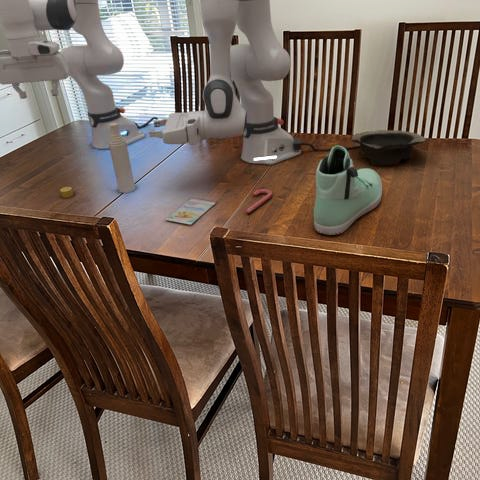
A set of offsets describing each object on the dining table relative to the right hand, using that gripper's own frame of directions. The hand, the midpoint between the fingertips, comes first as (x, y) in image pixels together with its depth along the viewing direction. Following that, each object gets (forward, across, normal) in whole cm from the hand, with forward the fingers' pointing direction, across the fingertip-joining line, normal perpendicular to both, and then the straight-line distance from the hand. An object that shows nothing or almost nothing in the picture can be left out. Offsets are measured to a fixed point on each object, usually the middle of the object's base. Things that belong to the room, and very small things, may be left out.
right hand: (151, 128), depth 151 cm
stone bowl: (-78, -13, +20) cm, 82 cm away
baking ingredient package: (-12, +20, +20) cm, 30 cm away
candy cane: (-32, +17, +20) cm, 41 cm away
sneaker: (-58, +24, +20) cm, 66 cm away
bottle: (+12, 0, +20) cm, 23 cm away
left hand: (+31, +2, -13) cm, 34 cm away
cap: (+31, +2, +18) cm, 36 cm away
